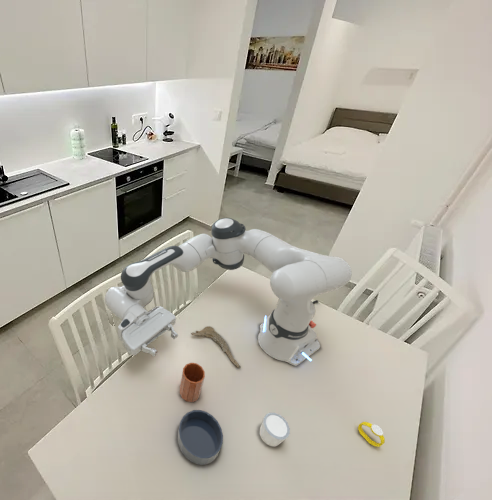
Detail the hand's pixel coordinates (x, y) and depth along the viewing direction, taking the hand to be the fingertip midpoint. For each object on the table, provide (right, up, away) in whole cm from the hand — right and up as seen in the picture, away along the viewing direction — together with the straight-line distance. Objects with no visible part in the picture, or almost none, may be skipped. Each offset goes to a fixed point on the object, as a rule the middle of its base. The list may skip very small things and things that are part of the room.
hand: (166, 345), depth 90 cm
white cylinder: (+29, -23, -8) cm, 38 cm away
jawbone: (+19, -7, +14) cm, 24 cm away
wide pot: (+8, -24, -10) cm, 27 cm away
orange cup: (+7, -16, +1) cm, 18 cm away
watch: (+57, -24, -8) cm, 62 cm away
